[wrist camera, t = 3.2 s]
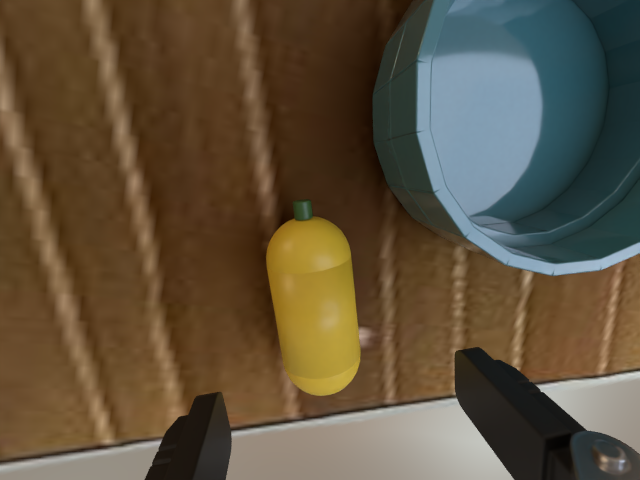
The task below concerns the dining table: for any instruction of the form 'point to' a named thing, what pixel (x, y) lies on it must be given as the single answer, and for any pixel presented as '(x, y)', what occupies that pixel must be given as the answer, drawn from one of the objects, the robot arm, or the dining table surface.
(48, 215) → the dining table surface
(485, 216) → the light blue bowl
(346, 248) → the squash
